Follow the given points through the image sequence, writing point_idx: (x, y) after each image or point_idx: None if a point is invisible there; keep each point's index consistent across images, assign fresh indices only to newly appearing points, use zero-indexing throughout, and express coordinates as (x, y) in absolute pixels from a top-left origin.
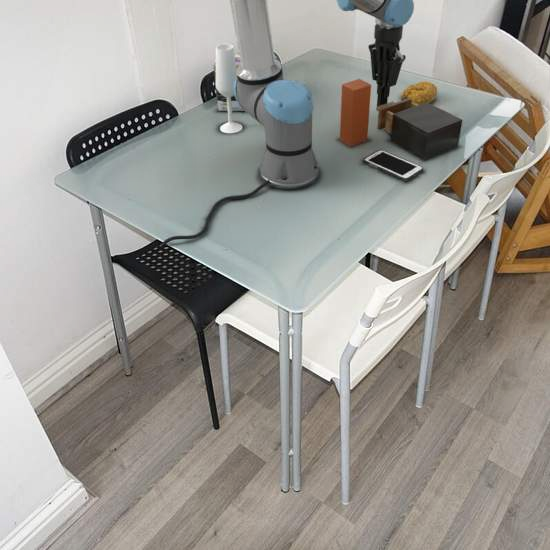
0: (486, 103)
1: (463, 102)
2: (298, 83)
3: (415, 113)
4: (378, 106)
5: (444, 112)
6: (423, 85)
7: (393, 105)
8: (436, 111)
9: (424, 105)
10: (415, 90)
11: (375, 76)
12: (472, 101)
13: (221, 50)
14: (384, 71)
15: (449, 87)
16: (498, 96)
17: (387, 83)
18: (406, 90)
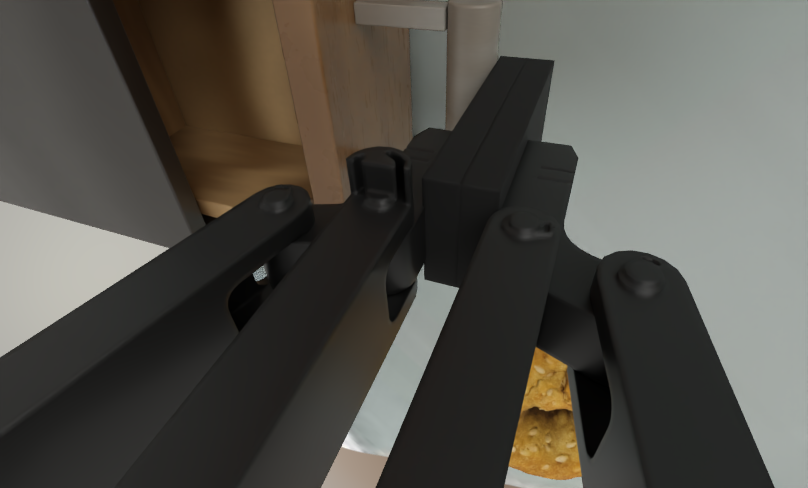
0: (363, 417)
1: (409, 404)
2: None
3: (42, 64)
4: (471, 20)
5: (58, 205)
6: (546, 452)
7: (289, 80)
8: (71, 188)
9: (157, 210)
10: (540, 405)
11: (601, 312)
12: (398, 417)
13: None
14: (265, 387)
15: (534, 476)
16: (380, 455)
17: (281, 218)
18: None
